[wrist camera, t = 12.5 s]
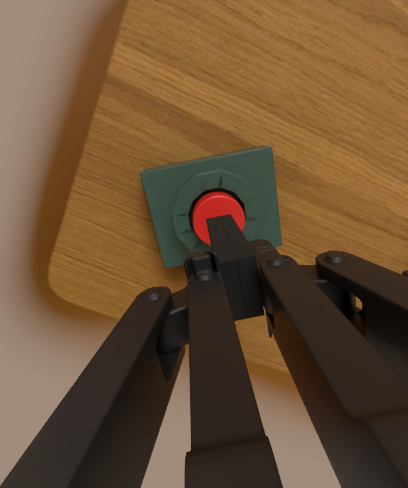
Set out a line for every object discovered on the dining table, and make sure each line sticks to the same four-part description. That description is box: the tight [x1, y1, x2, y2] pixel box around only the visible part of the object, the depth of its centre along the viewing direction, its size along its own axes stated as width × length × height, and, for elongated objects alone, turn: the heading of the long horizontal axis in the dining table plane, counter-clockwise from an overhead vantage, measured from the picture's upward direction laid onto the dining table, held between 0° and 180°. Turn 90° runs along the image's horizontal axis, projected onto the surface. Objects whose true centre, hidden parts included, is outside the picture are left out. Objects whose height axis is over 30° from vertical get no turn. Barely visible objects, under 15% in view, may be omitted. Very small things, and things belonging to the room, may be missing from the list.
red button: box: [193, 192, 245, 245], centre depth 21 cm, size 4×4×2 cm
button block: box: [140, 146, 282, 268], centre depth 23 cm, size 10×8×4 cm
